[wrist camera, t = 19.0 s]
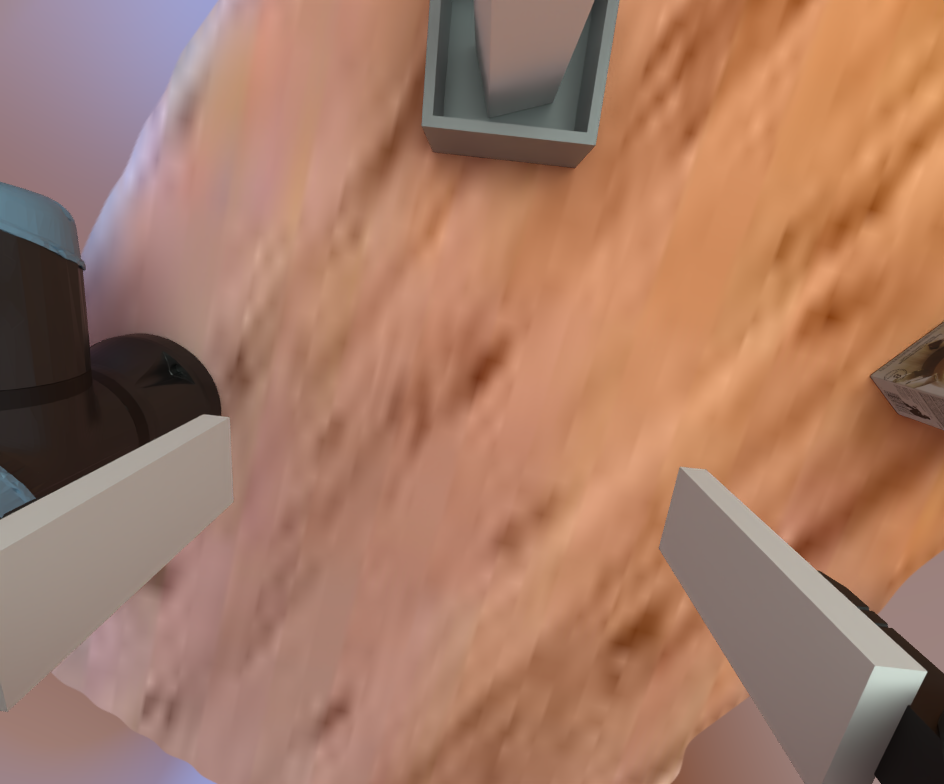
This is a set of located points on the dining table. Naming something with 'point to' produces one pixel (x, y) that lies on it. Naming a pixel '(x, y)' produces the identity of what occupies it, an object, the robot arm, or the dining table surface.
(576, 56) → the tray
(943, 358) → the coffee box
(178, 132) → the dining table surface
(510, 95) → the milk
